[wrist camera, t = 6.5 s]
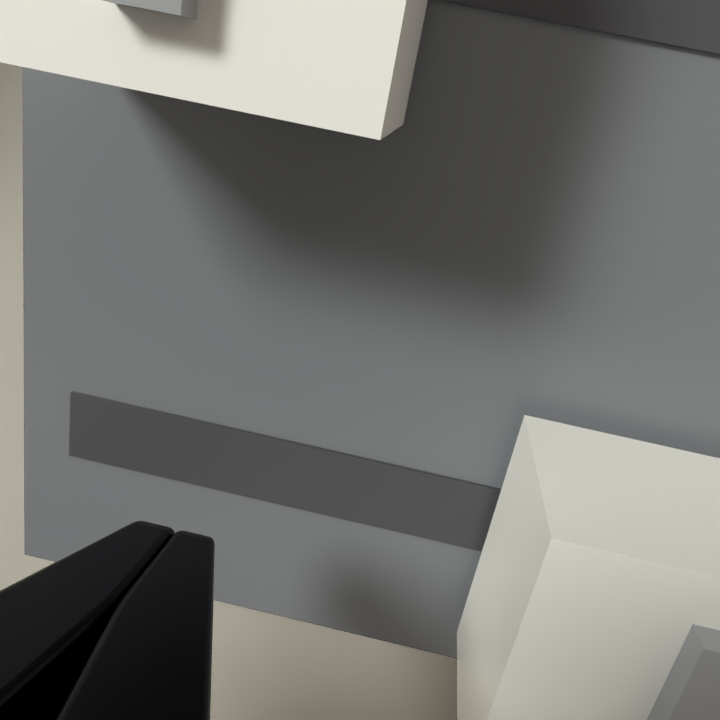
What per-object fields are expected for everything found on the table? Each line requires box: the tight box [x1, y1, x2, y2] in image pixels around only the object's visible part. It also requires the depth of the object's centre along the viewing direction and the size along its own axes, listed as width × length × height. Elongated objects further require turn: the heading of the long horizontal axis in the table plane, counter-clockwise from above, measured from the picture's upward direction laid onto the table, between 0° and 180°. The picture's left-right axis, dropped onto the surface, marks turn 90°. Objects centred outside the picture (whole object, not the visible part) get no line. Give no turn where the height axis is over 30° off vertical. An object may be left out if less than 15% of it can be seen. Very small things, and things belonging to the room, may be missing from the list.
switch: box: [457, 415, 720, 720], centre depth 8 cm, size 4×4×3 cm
